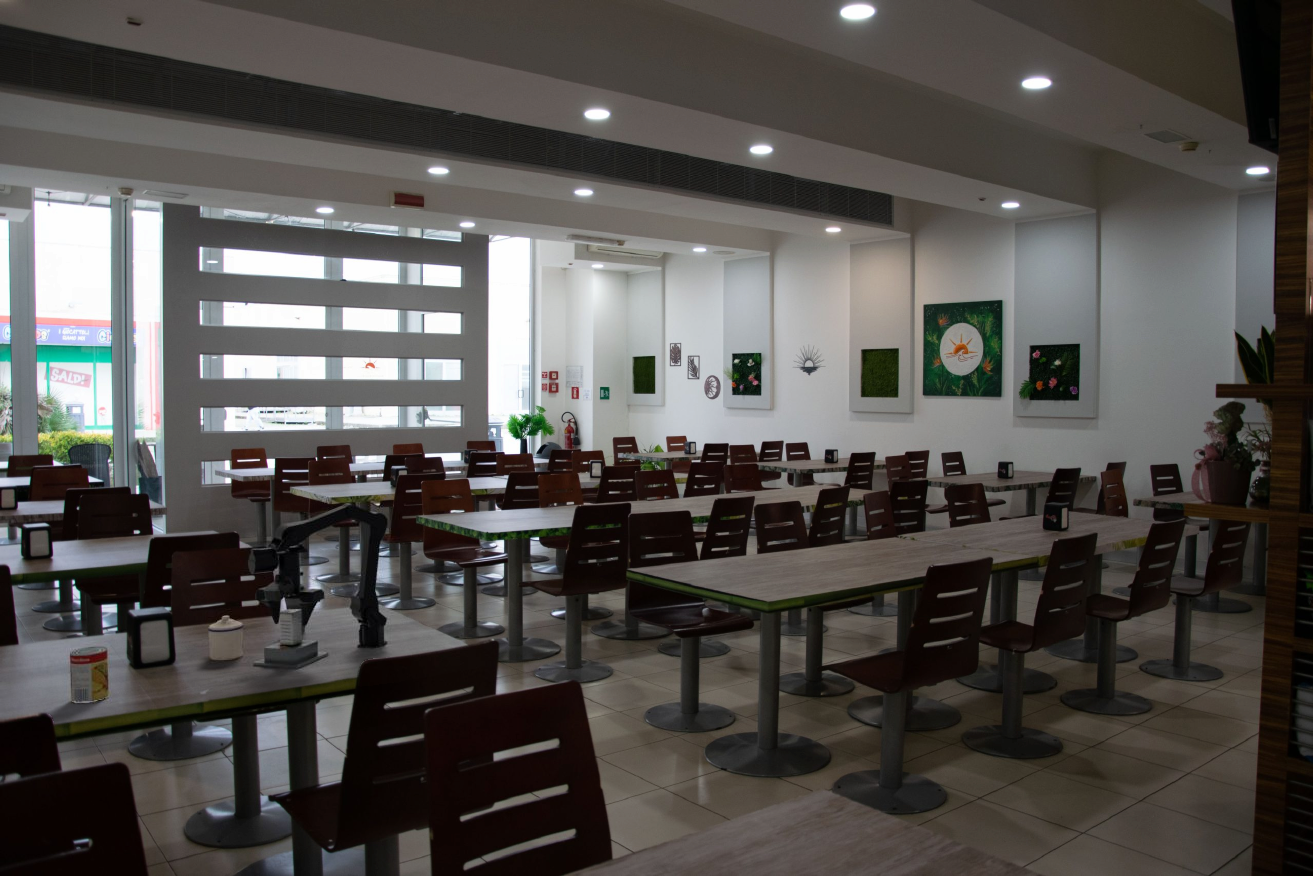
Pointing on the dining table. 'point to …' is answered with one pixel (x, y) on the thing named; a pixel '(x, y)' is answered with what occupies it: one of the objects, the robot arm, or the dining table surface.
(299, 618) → the column
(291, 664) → the base
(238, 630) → the teacup with lid
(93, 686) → the canned food
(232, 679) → the dining table surface
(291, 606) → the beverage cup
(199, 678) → the dining table surface
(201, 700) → the dining table surface
